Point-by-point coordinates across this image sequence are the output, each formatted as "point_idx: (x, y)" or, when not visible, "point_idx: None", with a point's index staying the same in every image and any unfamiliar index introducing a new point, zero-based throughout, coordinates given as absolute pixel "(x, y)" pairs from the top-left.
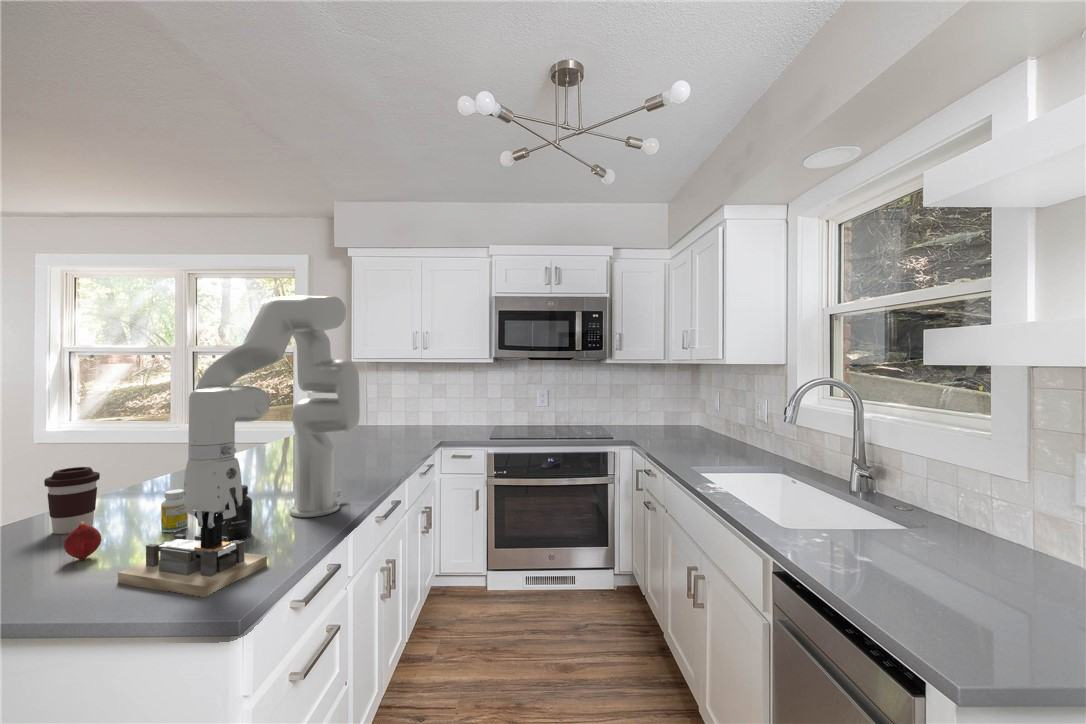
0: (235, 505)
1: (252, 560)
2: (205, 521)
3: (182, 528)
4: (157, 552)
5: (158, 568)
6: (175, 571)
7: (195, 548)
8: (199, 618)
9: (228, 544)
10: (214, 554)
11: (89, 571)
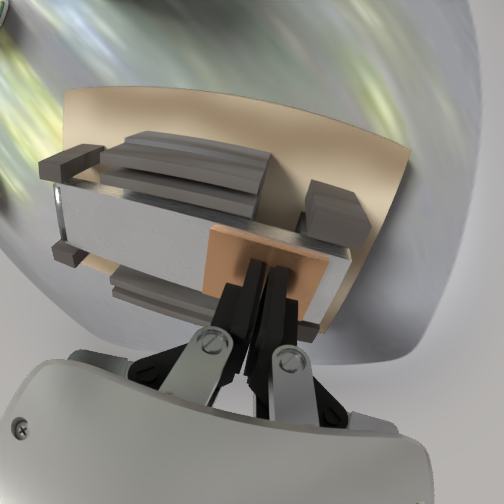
0: (377, 440)
1: (380, 188)
2: (218, 387)
3: (4, 12)
4: None
5: None
6: None
7: (209, 293)
8: (354, 362)
9: (323, 270)
10: (316, 333)
11: (18, 207)
